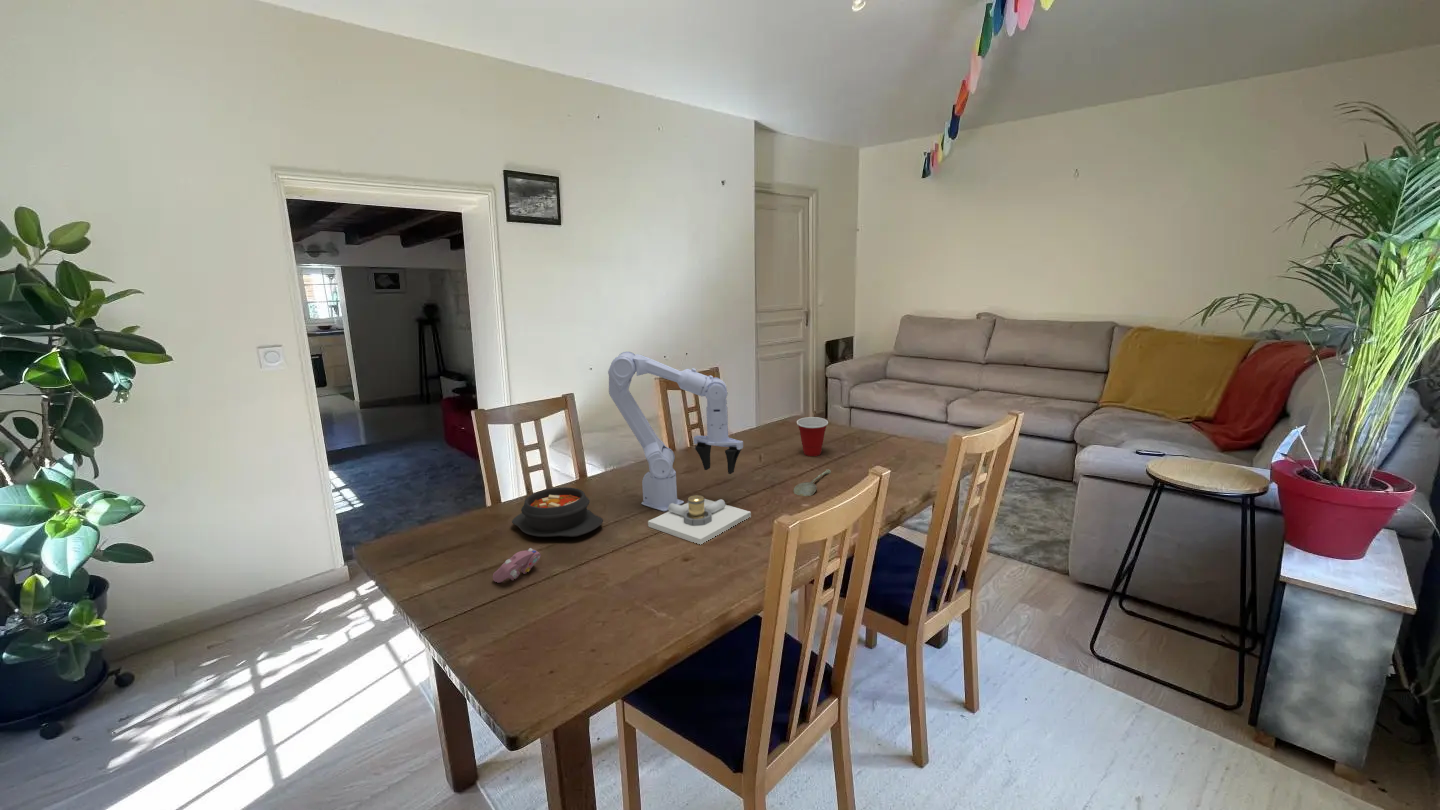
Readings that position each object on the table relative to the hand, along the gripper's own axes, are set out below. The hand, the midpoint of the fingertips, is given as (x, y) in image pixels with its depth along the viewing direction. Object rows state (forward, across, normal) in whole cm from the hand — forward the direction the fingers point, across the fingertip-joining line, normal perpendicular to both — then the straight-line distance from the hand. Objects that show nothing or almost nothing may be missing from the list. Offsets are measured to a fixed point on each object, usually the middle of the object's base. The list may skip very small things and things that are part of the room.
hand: (719, 470), depth 164 cm
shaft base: (+9, +2, -14) cm, 17 cm away
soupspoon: (+10, +18, +25) cm, 33 cm away
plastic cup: (+10, +7, +53) cm, 54 cm away
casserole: (+10, -30, -32) cm, 45 cm away
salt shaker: (+8, +2, -16) cm, 18 cm away
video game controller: (+10, -19, -55) cm, 59 cm away
